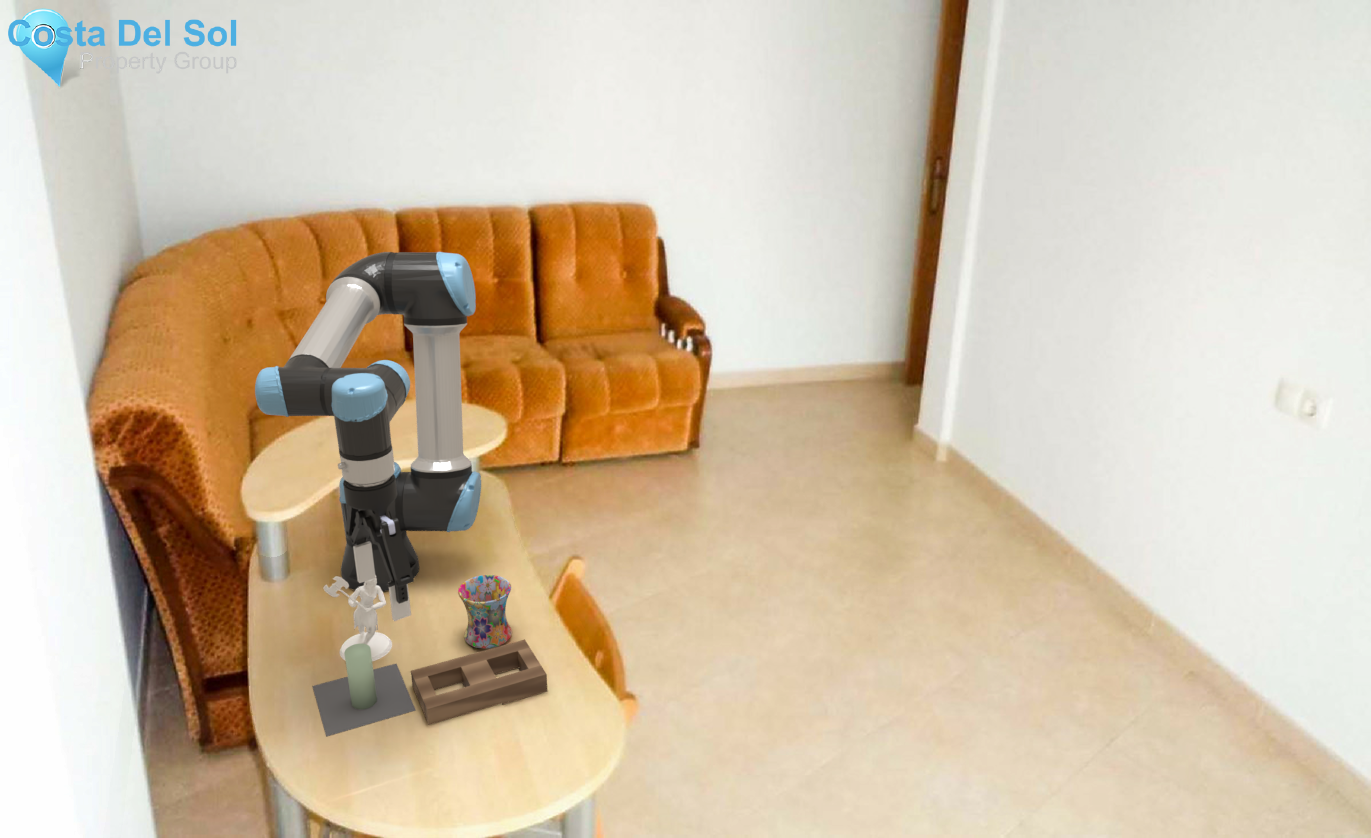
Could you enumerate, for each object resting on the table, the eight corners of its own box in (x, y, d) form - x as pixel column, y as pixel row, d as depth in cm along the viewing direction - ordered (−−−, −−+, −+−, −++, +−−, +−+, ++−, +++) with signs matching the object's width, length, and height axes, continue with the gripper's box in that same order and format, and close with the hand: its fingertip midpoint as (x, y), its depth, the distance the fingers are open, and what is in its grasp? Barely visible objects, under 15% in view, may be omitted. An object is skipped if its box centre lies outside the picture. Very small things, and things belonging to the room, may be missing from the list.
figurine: (334, 670, 172) (321, 580, 165) (337, 638, 180) (324, 552, 173) (393, 661, 174) (383, 573, 167) (393, 631, 182) (383, 545, 176)
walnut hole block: (412, 687, 167) (410, 670, 166) (525, 655, 176) (524, 639, 175) (429, 726, 158) (427, 709, 157) (547, 691, 167) (546, 674, 166)
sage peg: (349, 697, 164) (342, 647, 160) (374, 691, 166) (367, 641, 162) (354, 712, 161) (346, 661, 157) (379, 705, 163) (372, 654, 159)
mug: (516, 649, 178) (513, 598, 174) (464, 656, 176) (459, 605, 171) (510, 612, 188) (506, 564, 184) (460, 619, 186) (455, 570, 182)
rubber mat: (312, 688, 167) (312, 686, 167) (396, 665, 173) (396, 663, 173) (326, 738, 156) (326, 736, 155) (415, 712, 162) (415, 710, 161)
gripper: (314, 455, 155) (331, 572, 163) (378, 515, 137) (393, 643, 145) (360, 443, 159) (374, 558, 167) (429, 500, 141) (441, 625, 150)
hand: (383, 598), depth 156 cm, fingers open, 13 cm apart
